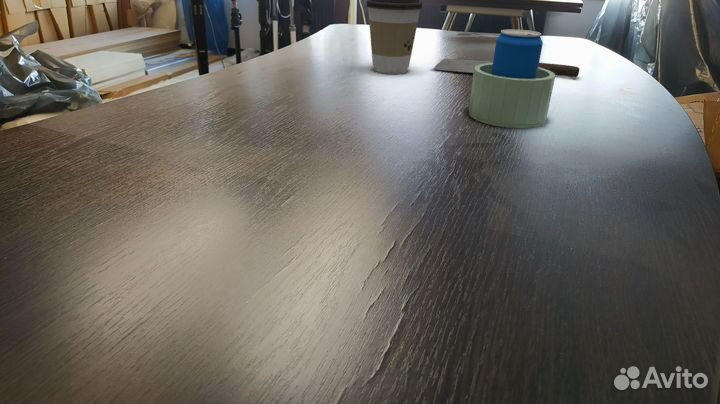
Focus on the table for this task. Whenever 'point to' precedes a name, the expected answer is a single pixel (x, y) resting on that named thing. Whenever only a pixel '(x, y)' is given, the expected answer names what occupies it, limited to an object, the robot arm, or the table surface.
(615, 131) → the table surface
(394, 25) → the coffee cup
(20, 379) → the table surface
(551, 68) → the cleaver
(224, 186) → the table surface
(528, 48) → the beverage can
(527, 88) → the canister
